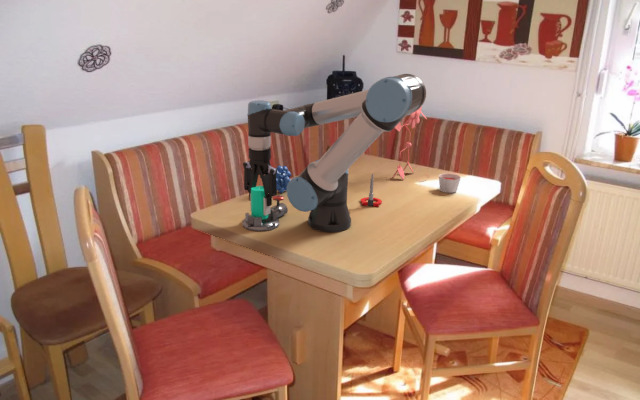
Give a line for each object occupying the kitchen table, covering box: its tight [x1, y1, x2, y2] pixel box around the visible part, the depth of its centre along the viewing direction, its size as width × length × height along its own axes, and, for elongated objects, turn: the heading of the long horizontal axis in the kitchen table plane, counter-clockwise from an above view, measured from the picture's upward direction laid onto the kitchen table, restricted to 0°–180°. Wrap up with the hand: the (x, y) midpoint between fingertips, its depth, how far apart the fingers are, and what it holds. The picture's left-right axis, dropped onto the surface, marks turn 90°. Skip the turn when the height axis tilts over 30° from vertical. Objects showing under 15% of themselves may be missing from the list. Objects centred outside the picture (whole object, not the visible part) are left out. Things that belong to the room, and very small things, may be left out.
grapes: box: [276, 165, 292, 194], centre depth 222 cm, size 12×7×12 cm, turn 145°
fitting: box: [241, 195, 289, 232], centre depth 193 cm, size 13×19×8 cm
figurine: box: [386, 105, 429, 183], centre depth 243 cm, size 15×26×35 cm, turn 146°
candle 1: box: [250, 184, 268, 220], centre depth 189 cm, size 6×6×12 cm
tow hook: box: [360, 173, 383, 208], centre depth 214 cm, size 8×13×9 cm
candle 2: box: [438, 172, 461, 194], centre depth 231 cm, size 9×9×6 cm
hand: (260, 212), depth 191 cm, fingers closed on candle 1, 5 cm apart
